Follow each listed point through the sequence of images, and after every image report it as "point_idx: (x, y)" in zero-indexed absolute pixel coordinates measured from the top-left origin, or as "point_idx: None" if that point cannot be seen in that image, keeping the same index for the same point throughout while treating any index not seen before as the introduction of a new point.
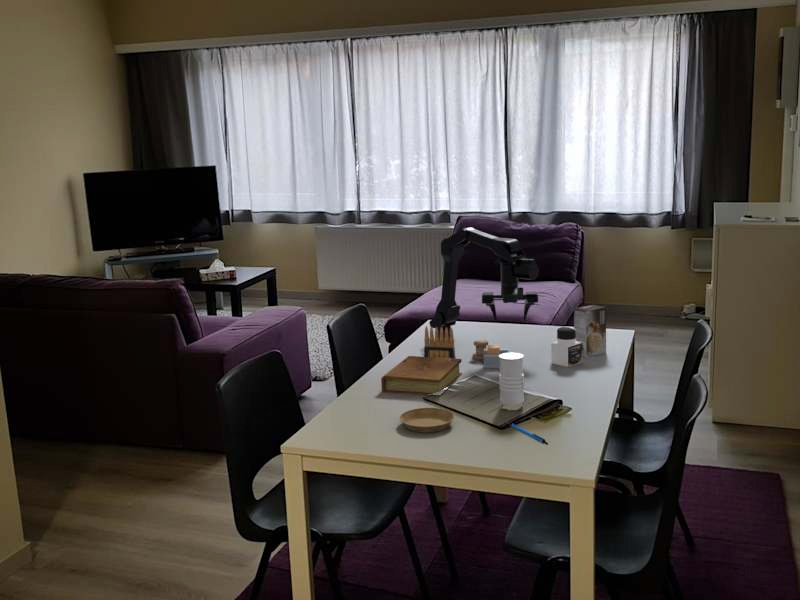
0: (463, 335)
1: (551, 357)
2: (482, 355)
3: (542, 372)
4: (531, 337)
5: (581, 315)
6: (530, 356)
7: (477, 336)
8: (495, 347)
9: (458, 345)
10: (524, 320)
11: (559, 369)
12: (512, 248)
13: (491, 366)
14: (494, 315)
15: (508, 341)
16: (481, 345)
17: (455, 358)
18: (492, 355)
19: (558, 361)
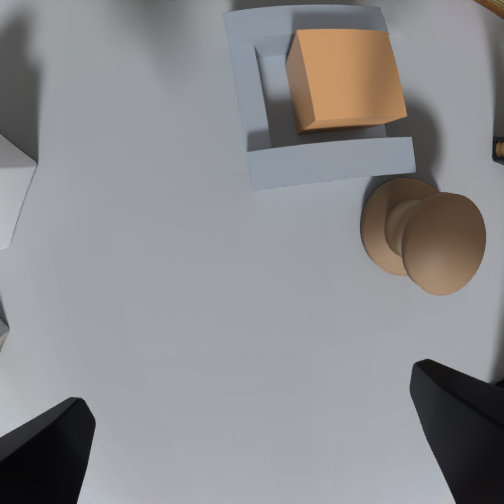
0: (425, 476)
1: (20, 165)
2: (404, 200)
3: (72, 23)
4: (211, 498)
5: None
6: (143, 278)
7: (388, 482)
8: (333, 44)
9: None
10: (59, 405)
11: (14, 87)
12: None
13: None
14: (501, 398)
15: (286, 469)
16: (440, 194)
17: (500, 159)
18: (332, 15)
19: (5, 144)
